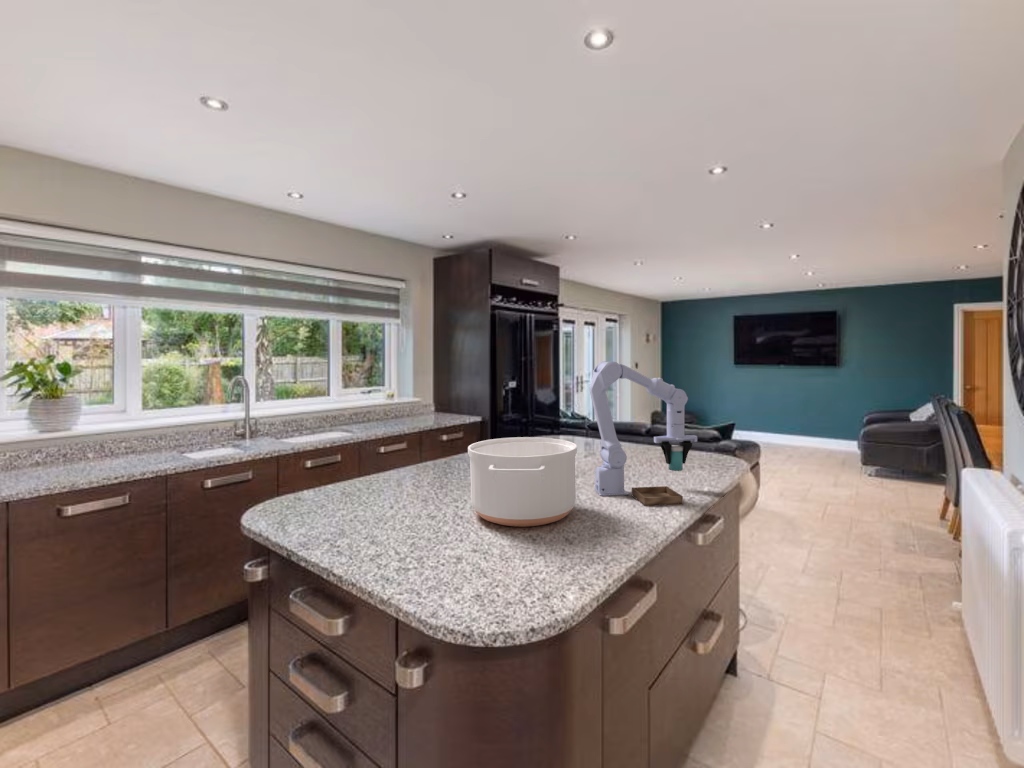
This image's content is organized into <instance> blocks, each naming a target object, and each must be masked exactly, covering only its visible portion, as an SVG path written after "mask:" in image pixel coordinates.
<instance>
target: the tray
mask: <svg viewBox="0 0 1024 768" xmlns="http://www.w3.org/2000/svg"><path fill="white" fill-rule="evenodd" d="M631 496H632V497H633V498H634V499H636V500H637V501H638V502H639V503H640V504H642V505H643V506H644V507H650V506H653V507H655V506H670V505H671V506H673V505H675V506H677V505H684V504H683V502H684V501H683V499H684V498H683V495H681V494H680V493H678V492H677V491H675V490H673V488H670V487H669V486H667V485H664V486H663V485H662V486H641V487H640V486H639V487H637V486H636V487H631Z"/></svg>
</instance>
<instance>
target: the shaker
mask: <svg viewBox="0 0 1024 768" xmlns="http://www.w3.org/2000/svg"><path fill="white" fill-rule="evenodd" d="M671 445H672V447H671V455H670V456H671V463H670V464H668V470H669V471H673V472H681V471H683V467H684V465H683V446H681V445H680V444H671Z"/></svg>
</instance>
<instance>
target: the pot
mask: <svg viewBox="0 0 1024 768" xmlns="http://www.w3.org/2000/svg"><path fill="white" fill-rule="evenodd" d="M577 453H578V445H577V444H576V443H574V442H572V441H569V440H566V439H560V438H551V437H535V436H534V437H533V436H530V437H529V436H523V437H521V436H517V437H501V438H493V439H492V438H491V439H486V440H485V439H484V440H481V441H478V442H477V441H476V442H474V443H471V444H470V445H468V446H467V455H468V456H469V466H470V467H469V468H470V469H469V470H470V471H469V472H470V473H469V474H470V475H469V476H470V502H471V507H472V509H473V510H474V511H475V513H476V514H477V515H478V516H479V517H481V518H482V519H484V520H485V521H487V522H491V523H494V524H497V525H502V526H507V527H517V528H518V527H520V528H521V527H538V526H544V525H547V524H552V523H555V522H558V521H560V520H562V519H564V518H565V517H566V516H567V515H569V514H570V513H571V512H572V510H573V508H575V506H576V505H575V504H576V499H577V498H576V492H577V491H576V488H577V487H576V454H577Z"/></svg>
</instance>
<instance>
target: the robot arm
mask: <svg viewBox="0 0 1024 768" xmlns="http://www.w3.org/2000/svg"><path fill="white" fill-rule="evenodd" d="M619 379H621V380H623V379H625V380H628V381H630V382H632V383H635V384H637V385H640V386H642V387H643V388H645V390H646V392H647V393H648V394H650V395H651V396H654V397H656V398H658V399H659V400H662V401H664V402H665V403H666V435H659V436H653V443H655V444H659V446H660V448H661V450H662V453H663V455H664V459H665V463H666V464H667V465H669V464H670V463H671V456H670V455H671V447H672V445H673V444H671V443H679V444H678V445H681V446H683V464H684V465H685V464H686V461H687V457H688V454H689V452H690V450H691V449H692V447H693V443H692V442H694V443H697V442H698V436H697V435H693V434H692V435H690V434H689V435H688V434H687V435H686V434H685V407H686V406H685V405H686V404H687V402H688V401H689V397H688V396H687V393H686V391H685V390H684V389H681V388H676V386H675V385H674V384H670V383H667V382H665V381H664V380H663V379H664V378H661V377H653V378H649V377H647V376H645V375H644V374H641V373H640V372H638V371H637V370H635V369H632V368H631V367H629V366H627V365H624V364H622V363H618V362H617V361H601V362H599V363H598V364H597V365H596V367H595V368H594V369H593V370H592V378H591V380H590V381H591V382H590V385H589V388H588V389H589V390H588V391H589V395H590V399H591V402H592V406H593V411H594V415H595V419H596V423H597V427H598V431H599V435H600V438H601V439H600V452H599V453H600V454H599V455H600V458H601V459H602V461H603V462H602V464H601V466H596V467H595V469H594V470H595V471H594V491H595V492H596V493H597V494H599V496H602V497H603V496H605V497H606V496H627V495H629V492H628V491H626V489H625V464H626V462H627V453H626V452H625V451H624V450H623V448H622V444H621V442H620V440H619V439H618V436H617V432H616V428H615V424H614V421H613V416H612V412H611V408H610V405H609V400H608V397H607V391H608V390H609V388H610V387H611V386H612V384H614V383H615V382H617V381H618V380H619Z"/></svg>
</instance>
